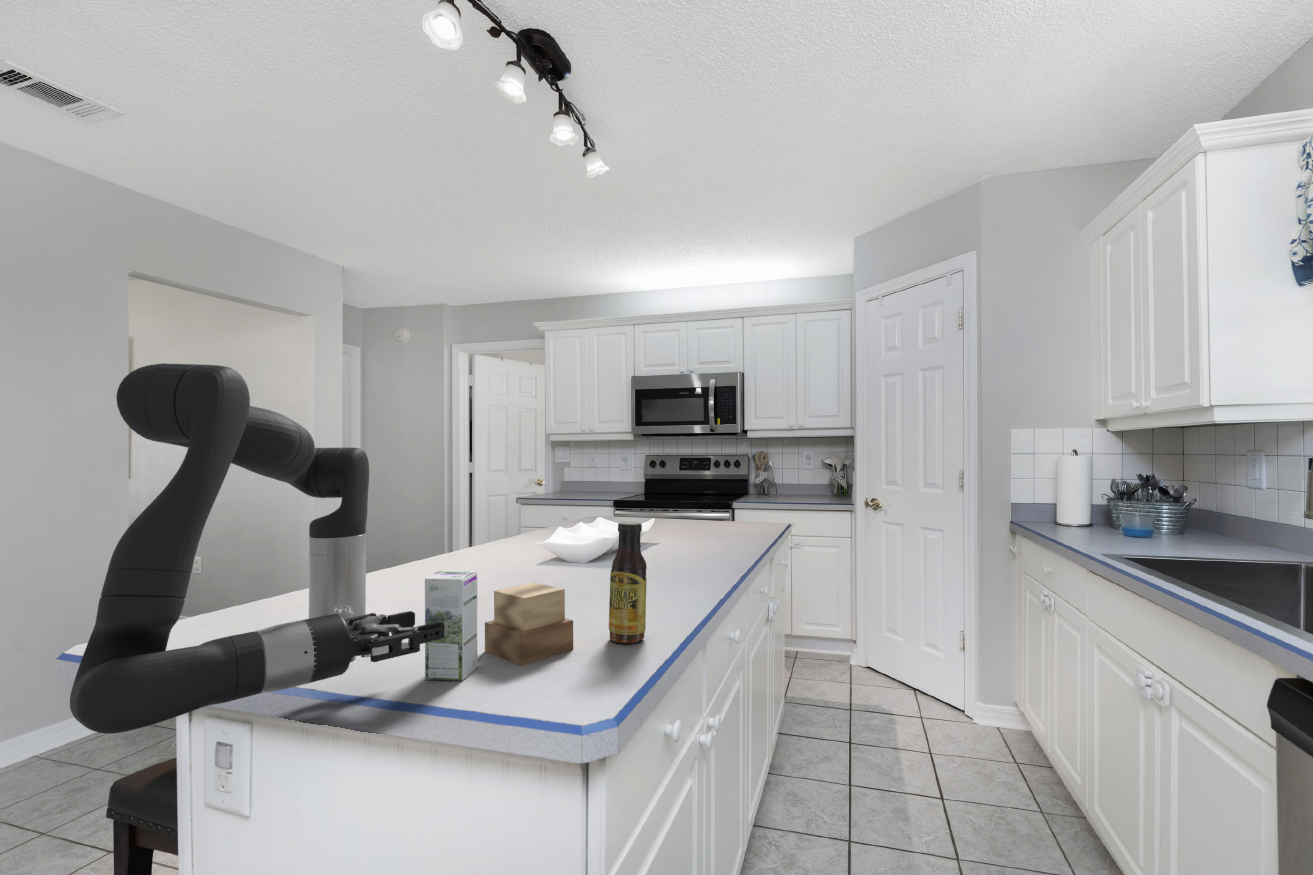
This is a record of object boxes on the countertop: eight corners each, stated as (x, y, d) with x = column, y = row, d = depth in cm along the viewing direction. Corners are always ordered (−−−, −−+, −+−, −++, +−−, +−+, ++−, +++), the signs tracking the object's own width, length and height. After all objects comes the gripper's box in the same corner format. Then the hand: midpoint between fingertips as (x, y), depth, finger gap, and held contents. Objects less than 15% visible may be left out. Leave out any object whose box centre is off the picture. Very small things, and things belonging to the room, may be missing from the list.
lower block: (484, 653, 98) (484, 622, 98) (535, 639, 105) (535, 610, 105) (521, 667, 91) (521, 634, 91) (573, 651, 99) (573, 620, 99)
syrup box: (479, 667, 91) (478, 569, 91) (462, 682, 85) (462, 577, 85) (442, 666, 91) (442, 569, 92) (423, 681, 85) (423, 576, 86)
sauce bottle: (602, 643, 102) (601, 523, 102) (618, 632, 107) (617, 519, 108) (638, 647, 99) (637, 525, 100) (653, 636, 105) (651, 521, 105)
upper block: (494, 621, 98) (494, 590, 98) (534, 611, 104) (534, 582, 104) (524, 630, 93) (524, 597, 93) (564, 619, 99) (564, 588, 99)
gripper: (322, 632, 69) (454, 604, 81) (281, 611, 78) (404, 589, 90) (321, 699, 69) (454, 661, 81) (281, 669, 78) (404, 640, 90)
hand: (428, 623), depth 85 cm, fingers open, 8 cm apart
